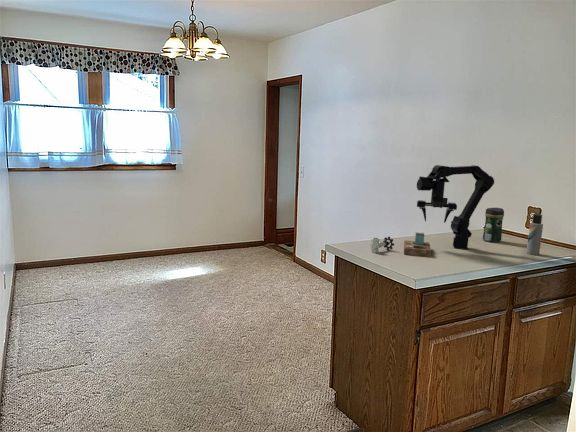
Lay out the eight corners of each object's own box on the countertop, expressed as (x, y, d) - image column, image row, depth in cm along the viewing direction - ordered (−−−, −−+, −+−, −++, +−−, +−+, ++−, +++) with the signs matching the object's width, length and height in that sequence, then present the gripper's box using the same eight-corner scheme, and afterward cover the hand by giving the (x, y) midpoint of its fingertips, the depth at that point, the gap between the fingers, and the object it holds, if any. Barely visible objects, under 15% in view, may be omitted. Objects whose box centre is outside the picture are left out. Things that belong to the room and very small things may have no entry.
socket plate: (428, 248, 238) (429, 242, 238) (430, 256, 221) (431, 250, 220) (403, 246, 241) (404, 239, 240) (403, 254, 224) (404, 247, 223)
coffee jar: (491, 238, 270) (495, 206, 267) (503, 241, 263) (507, 208, 260) (479, 239, 265) (483, 206, 262) (491, 243, 258) (495, 209, 255)
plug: (422, 249, 236) (424, 233, 235) (422, 250, 233) (424, 234, 231) (414, 248, 237) (415, 232, 236) (414, 250, 234) (415, 233, 232)
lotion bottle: (538, 253, 238) (543, 213, 235) (540, 255, 233) (545, 215, 230) (525, 251, 240) (530, 212, 237) (527, 254, 235) (532, 214, 231)
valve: (376, 254, 222) (393, 251, 229) (377, 240, 221) (394, 237, 228) (366, 251, 227) (383, 248, 234) (367, 237, 226) (384, 235, 233)
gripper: (418, 191, 230) (415, 223, 233) (459, 194, 226) (456, 226, 229) (418, 189, 241) (415, 219, 244) (457, 191, 237) (453, 222, 239)
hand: (434, 222), depth 238 cm, fingers open, 9 cm apart
